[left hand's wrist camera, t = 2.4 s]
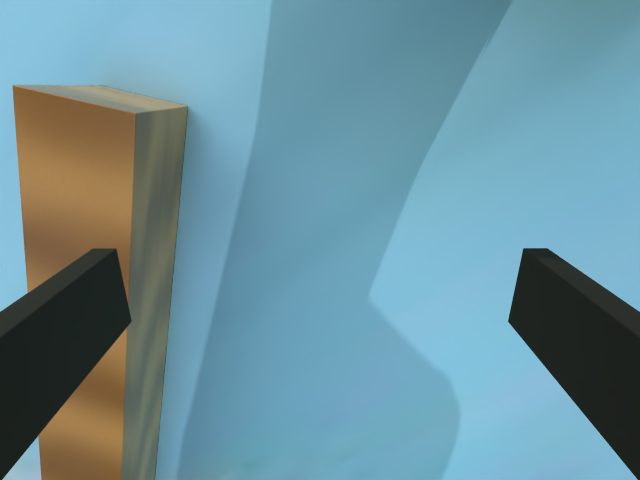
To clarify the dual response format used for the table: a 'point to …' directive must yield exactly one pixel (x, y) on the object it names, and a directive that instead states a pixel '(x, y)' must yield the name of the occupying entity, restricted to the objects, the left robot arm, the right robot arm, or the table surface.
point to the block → (104, 232)
